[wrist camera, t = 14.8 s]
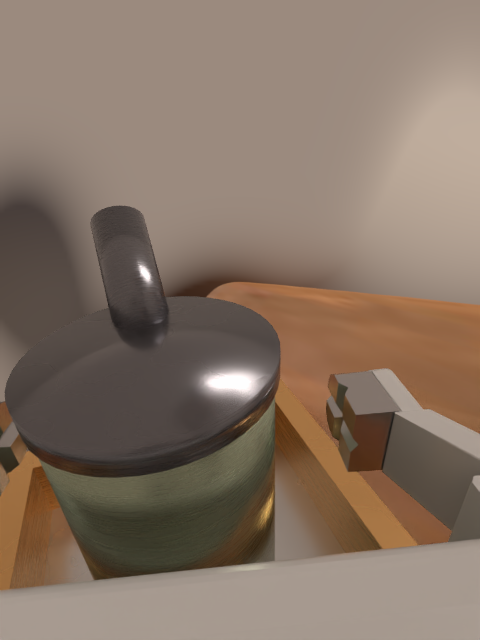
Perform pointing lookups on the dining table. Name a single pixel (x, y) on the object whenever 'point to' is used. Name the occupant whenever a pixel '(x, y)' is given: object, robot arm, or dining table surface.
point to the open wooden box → (290, 508)
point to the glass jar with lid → (154, 419)
